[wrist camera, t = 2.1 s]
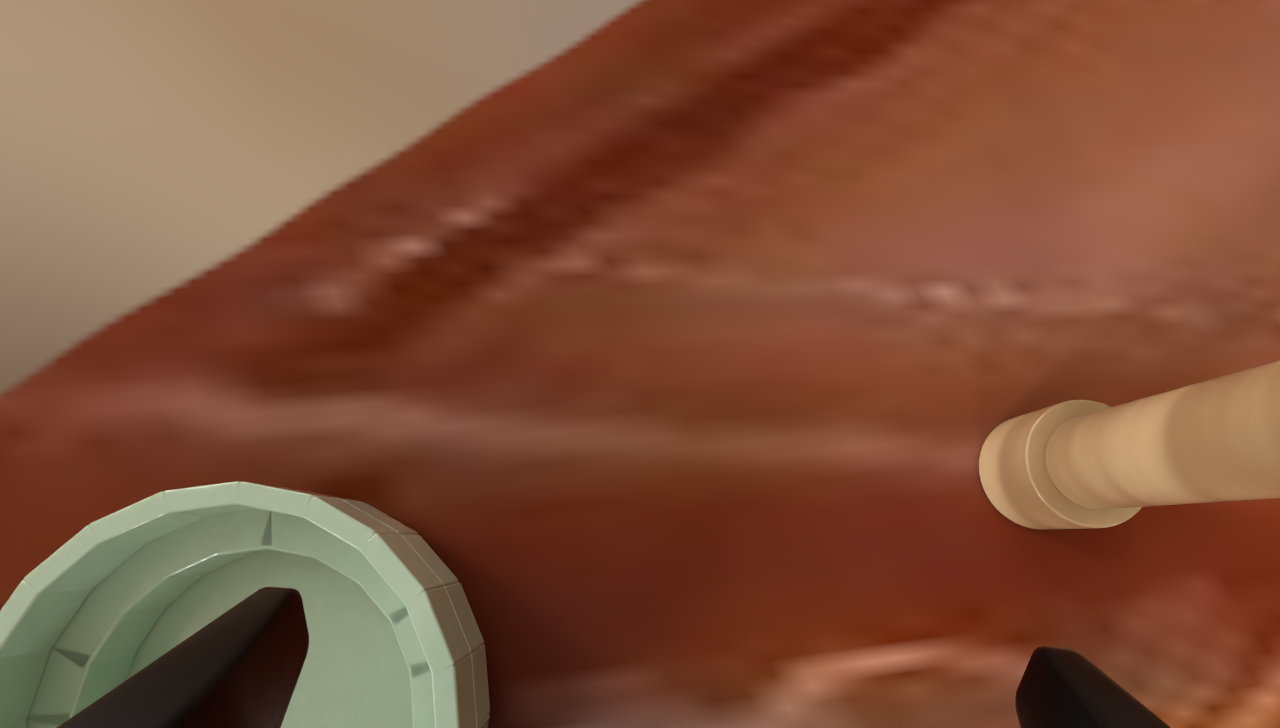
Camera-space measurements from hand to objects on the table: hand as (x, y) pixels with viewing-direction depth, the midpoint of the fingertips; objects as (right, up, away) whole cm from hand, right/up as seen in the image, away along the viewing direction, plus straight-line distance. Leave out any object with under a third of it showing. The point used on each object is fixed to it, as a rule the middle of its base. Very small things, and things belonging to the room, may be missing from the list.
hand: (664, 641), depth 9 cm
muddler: (+12, 0, +15) cm, 19 cm away
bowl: (-11, -7, +13) cm, 18 cm away
